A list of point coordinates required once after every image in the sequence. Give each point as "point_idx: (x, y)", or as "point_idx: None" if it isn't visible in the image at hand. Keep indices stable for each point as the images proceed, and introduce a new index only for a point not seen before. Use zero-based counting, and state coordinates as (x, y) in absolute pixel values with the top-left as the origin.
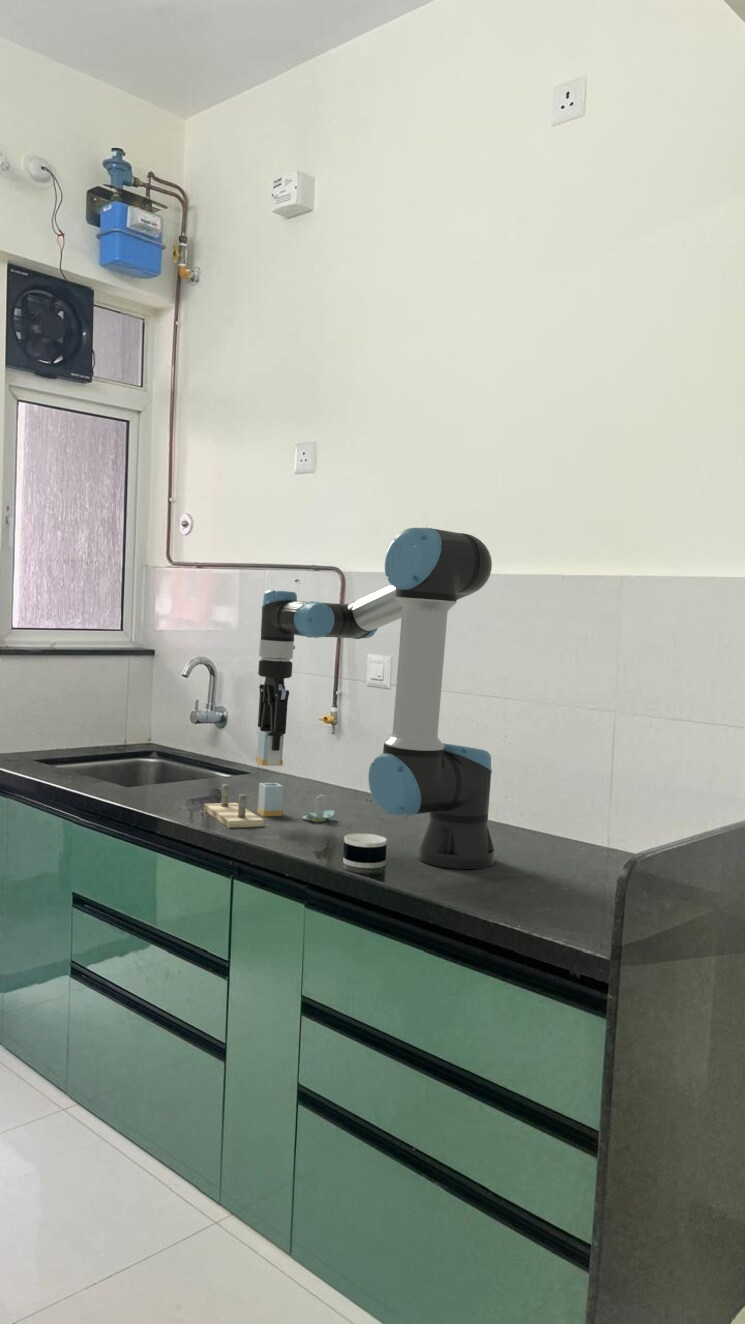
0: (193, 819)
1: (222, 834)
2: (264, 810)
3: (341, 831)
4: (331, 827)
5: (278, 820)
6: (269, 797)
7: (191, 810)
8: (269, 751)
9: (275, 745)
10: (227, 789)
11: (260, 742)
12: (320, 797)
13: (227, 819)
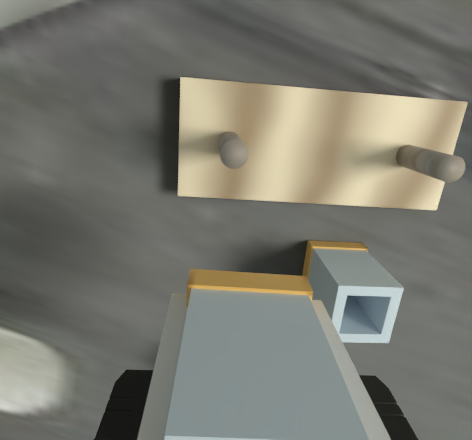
0: (335, 8)
1: (91, 18)
2: (313, 249)
3: (91, 353)
4: (139, 348)
5: (249, 259)
6: (322, 280)
7: (465, 58)
8: (158, 349)
9: (110, 411)
10: (429, 169)
11: (280, 360)
12: None
13: (204, 82)
